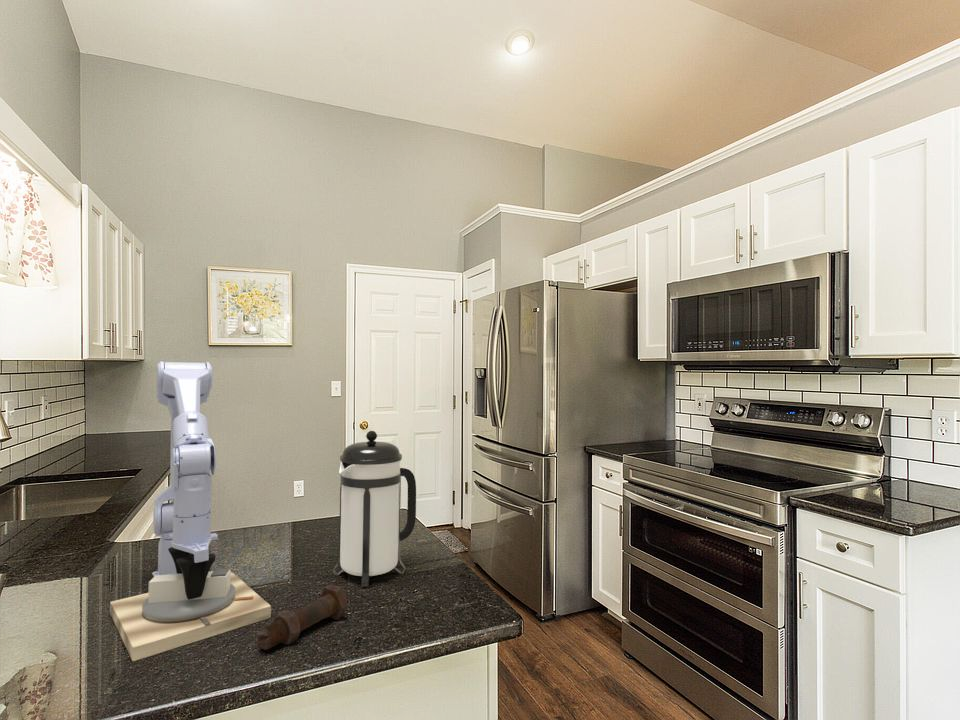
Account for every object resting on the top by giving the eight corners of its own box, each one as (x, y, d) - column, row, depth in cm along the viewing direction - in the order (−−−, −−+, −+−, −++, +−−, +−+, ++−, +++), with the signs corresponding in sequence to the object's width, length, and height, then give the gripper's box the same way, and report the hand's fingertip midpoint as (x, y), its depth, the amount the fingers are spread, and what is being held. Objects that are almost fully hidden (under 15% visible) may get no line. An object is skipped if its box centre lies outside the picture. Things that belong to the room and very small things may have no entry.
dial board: (110, 613, 90) (110, 600, 90) (231, 582, 103) (231, 570, 103) (132, 661, 75) (133, 646, 75) (270, 617, 89) (271, 604, 89)
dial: (127, 625, 81) (127, 595, 81) (160, 588, 94) (160, 562, 95) (224, 617, 84) (224, 587, 84) (242, 582, 98) (243, 557, 98)
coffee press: (405, 589, 101) (407, 435, 102) (323, 588, 101) (326, 434, 102) (415, 557, 118) (417, 426, 119) (345, 556, 118) (348, 425, 119)
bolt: (258, 664, 78) (334, 620, 91) (277, 656, 76) (352, 612, 89) (246, 626, 80) (322, 588, 93) (264, 617, 77) (339, 579, 90)
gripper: (229, 518, 87) (227, 599, 86) (207, 501, 98) (205, 573, 97) (181, 526, 82) (179, 612, 82) (164, 507, 93) (162, 583, 93)
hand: (190, 592), depth 89 cm, fingers closed on dial, 5 cm apart
